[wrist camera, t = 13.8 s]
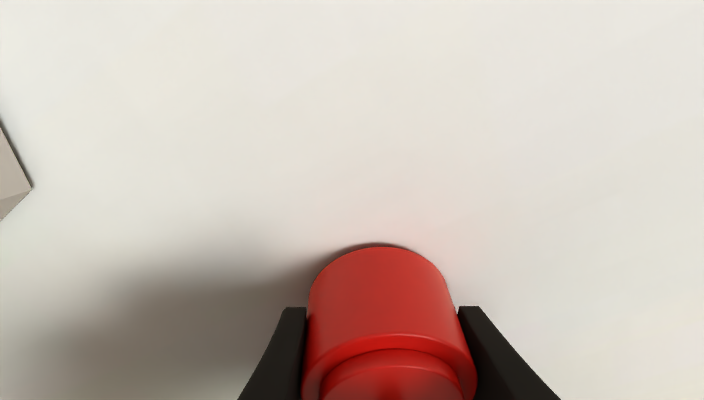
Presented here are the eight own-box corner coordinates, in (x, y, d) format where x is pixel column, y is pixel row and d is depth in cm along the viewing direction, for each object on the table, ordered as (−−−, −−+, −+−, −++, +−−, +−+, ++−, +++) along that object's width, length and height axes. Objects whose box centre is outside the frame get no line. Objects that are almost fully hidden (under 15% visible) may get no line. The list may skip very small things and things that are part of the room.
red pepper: (474, 279, 13) (545, 437, 8) (391, 356, 15) (414, 517, 10) (358, 217, 11) (371, 369, 7) (284, 312, 13) (257, 477, 9)
